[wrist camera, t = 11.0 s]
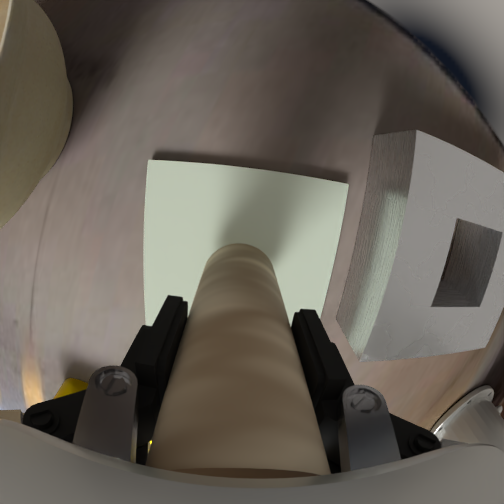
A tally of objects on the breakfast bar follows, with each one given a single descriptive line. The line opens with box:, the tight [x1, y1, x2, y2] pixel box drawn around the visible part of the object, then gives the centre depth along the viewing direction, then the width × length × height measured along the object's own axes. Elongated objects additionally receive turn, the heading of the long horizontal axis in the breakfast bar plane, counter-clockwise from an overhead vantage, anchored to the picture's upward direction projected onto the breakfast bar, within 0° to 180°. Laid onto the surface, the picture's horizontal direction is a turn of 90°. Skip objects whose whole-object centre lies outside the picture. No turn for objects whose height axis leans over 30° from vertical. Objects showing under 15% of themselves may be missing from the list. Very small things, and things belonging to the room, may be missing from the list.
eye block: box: [336, 130, 504, 362], centre depth 15 cm, size 13×13×5 cm
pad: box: [144, 160, 349, 326], centre depth 17 cm, size 12×12×1 cm
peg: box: [145, 243, 331, 479], centre depth 9 cm, size 4×4×14 cm
